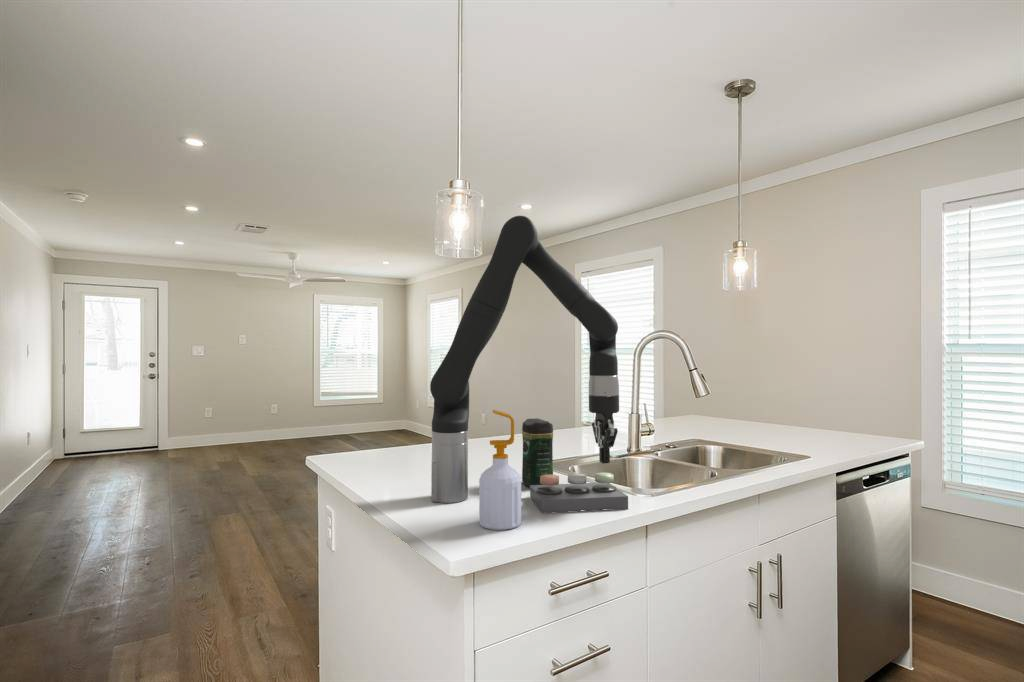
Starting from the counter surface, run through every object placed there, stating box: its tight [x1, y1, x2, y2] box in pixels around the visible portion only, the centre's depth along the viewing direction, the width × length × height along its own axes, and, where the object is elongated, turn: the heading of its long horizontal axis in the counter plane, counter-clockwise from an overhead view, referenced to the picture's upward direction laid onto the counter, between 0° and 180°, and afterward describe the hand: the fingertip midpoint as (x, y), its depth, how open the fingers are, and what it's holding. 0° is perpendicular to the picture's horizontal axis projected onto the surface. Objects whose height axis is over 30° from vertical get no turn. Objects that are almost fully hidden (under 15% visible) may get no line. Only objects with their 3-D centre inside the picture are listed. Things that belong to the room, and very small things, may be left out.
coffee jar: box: [521, 417, 554, 488], centre depth 148 cm, size 10×8×19 cm
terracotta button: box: [540, 474, 560, 486], centre depth 129 cm, size 5×5×2 cm
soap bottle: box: [478, 409, 522, 531], centre depth 114 cm, size 9×9×25 cm
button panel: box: [529, 482, 629, 514], centre depth 130 cm, size 21×14×4 cm, turn 99°
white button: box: [567, 473, 588, 484], centre depth 130 cm, size 5×5×2 cm
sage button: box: [594, 472, 615, 484], centre depth 131 cm, size 5×5×2 cm
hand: (604, 462), depth 132 cm, fingers closed
